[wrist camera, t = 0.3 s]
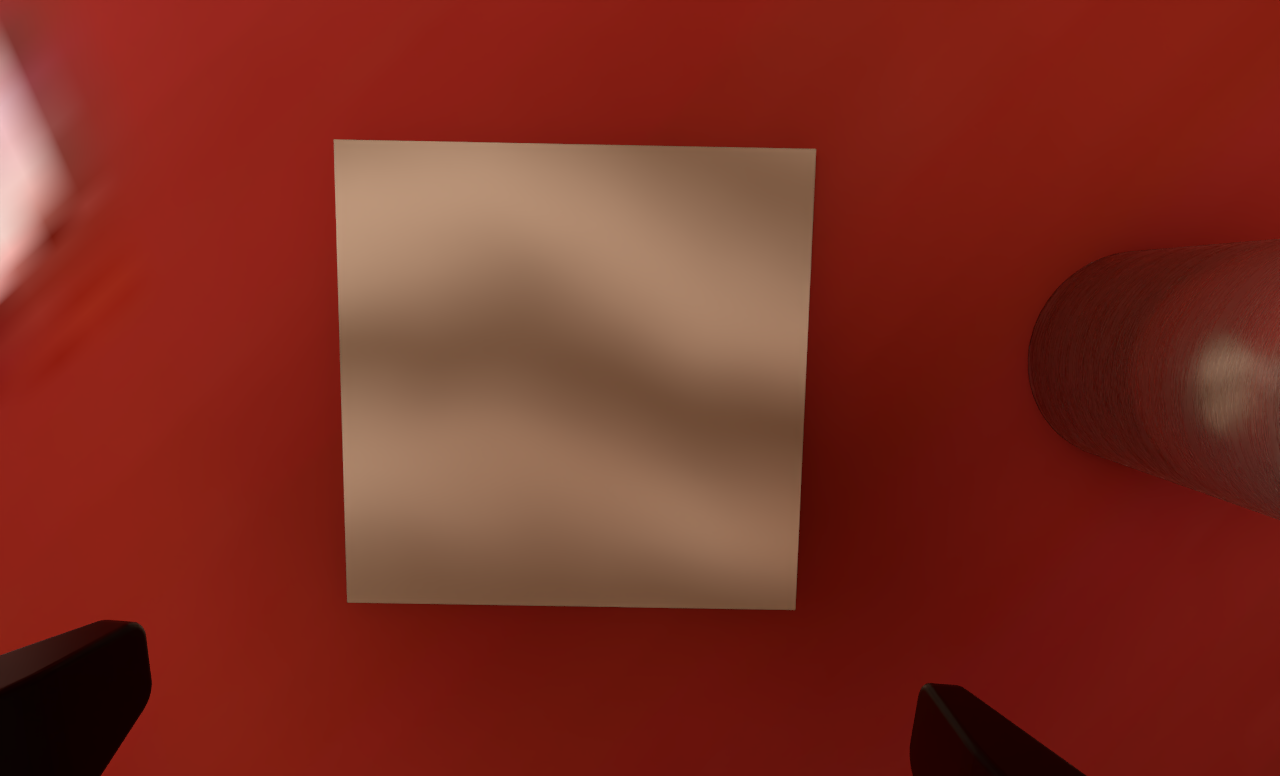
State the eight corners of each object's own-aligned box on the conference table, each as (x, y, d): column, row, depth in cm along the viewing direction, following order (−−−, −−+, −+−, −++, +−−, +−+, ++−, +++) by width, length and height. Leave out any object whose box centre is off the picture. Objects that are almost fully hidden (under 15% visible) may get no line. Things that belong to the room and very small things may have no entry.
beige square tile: (791, 601, 23) (795, 610, 22) (354, 594, 23) (346, 602, 22) (811, 153, 21) (816, 149, 21) (342, 143, 21) (333, 139, 21)
